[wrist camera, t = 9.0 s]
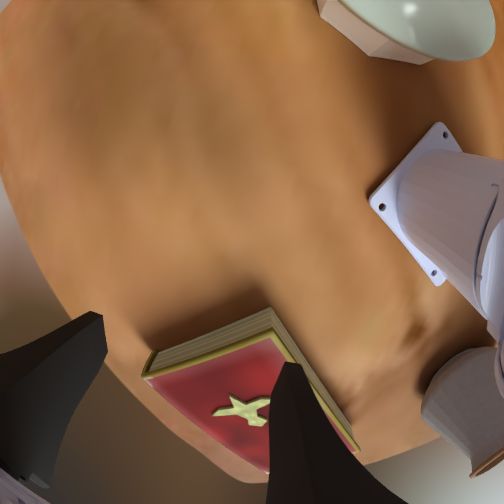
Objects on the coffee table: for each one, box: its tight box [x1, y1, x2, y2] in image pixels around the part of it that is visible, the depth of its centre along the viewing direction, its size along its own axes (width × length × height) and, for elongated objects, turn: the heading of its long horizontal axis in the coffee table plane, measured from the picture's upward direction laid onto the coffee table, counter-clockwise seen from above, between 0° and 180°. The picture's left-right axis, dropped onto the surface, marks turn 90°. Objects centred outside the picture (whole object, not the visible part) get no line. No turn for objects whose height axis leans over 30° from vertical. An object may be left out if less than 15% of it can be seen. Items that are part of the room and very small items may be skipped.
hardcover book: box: [141, 306, 361, 474], centre depth 22 cm, size 12×21×4 cm, turn 30°
